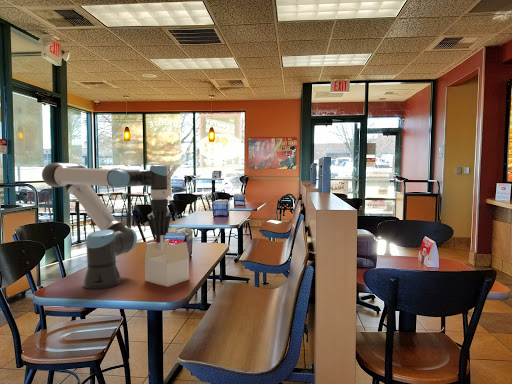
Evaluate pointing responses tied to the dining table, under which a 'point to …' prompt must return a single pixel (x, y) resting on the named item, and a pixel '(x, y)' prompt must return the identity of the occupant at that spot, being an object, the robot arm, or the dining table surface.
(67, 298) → the dining table surface
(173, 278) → the carton
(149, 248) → the far flap
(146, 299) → the dining table surface
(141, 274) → the dining table surface
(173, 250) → the near flap
